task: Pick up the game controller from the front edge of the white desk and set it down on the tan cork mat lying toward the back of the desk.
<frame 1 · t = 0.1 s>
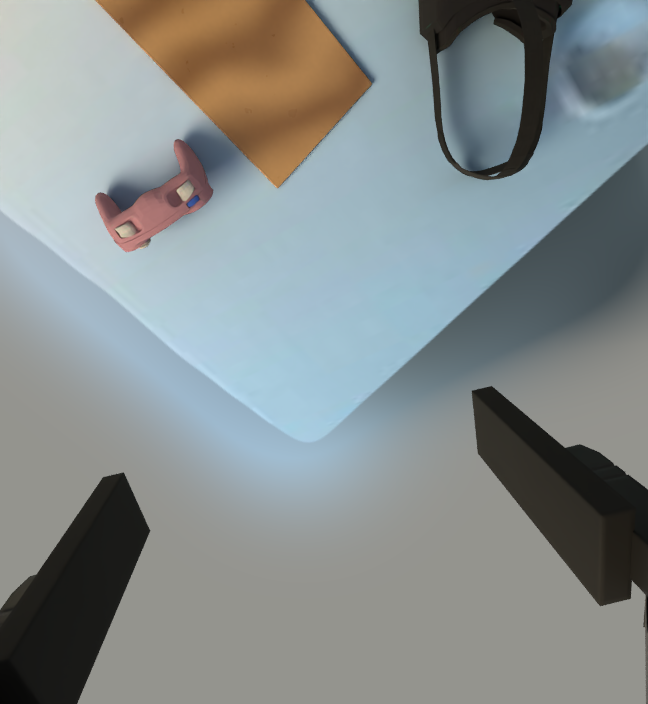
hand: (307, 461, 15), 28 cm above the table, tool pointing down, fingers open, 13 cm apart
video game controller: (162, 198, 38), on the table
cork mat: (238, 42, 34), on the table
virtual reality headset: (476, 77, 37), on the table
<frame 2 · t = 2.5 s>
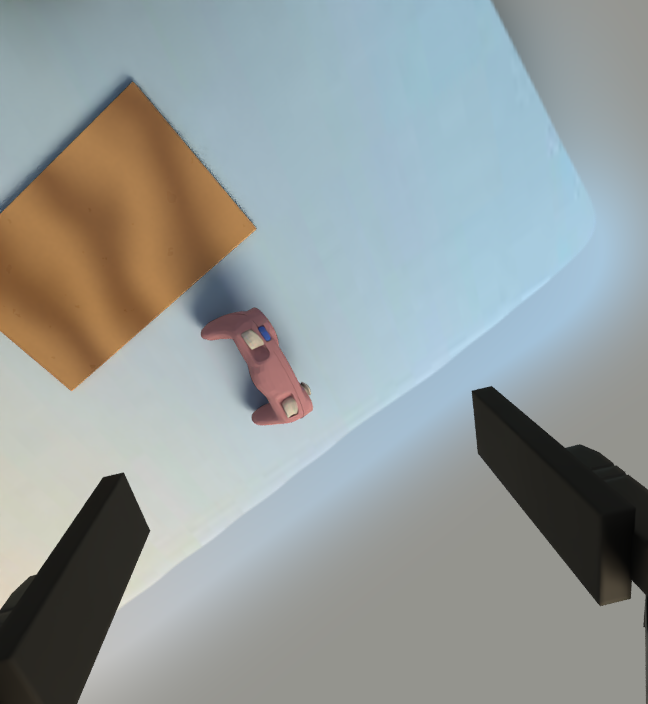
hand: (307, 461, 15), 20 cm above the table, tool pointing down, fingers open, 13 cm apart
video game controller: (260, 358, 35), on the table
cork mat: (101, 252, 31), on the table
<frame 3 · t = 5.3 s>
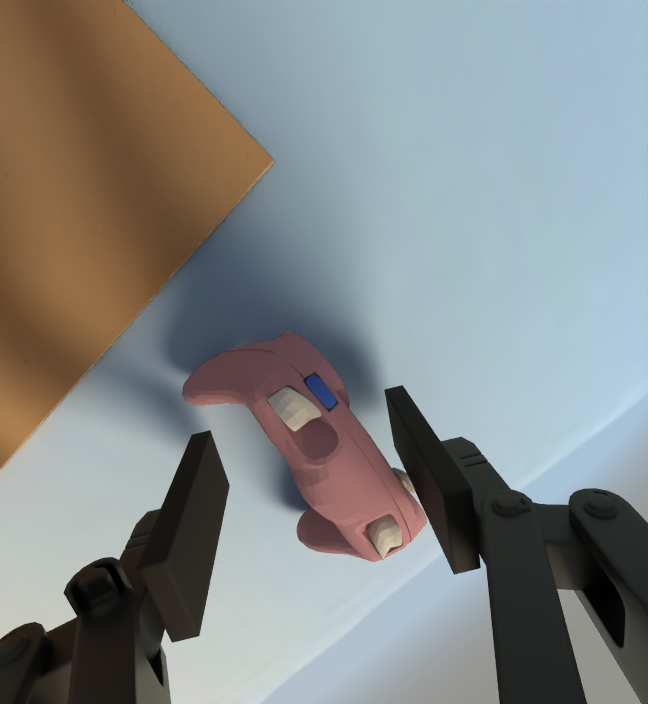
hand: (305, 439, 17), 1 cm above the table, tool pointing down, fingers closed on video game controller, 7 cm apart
video game controller: (303, 421, 18), on the table, touching gripper
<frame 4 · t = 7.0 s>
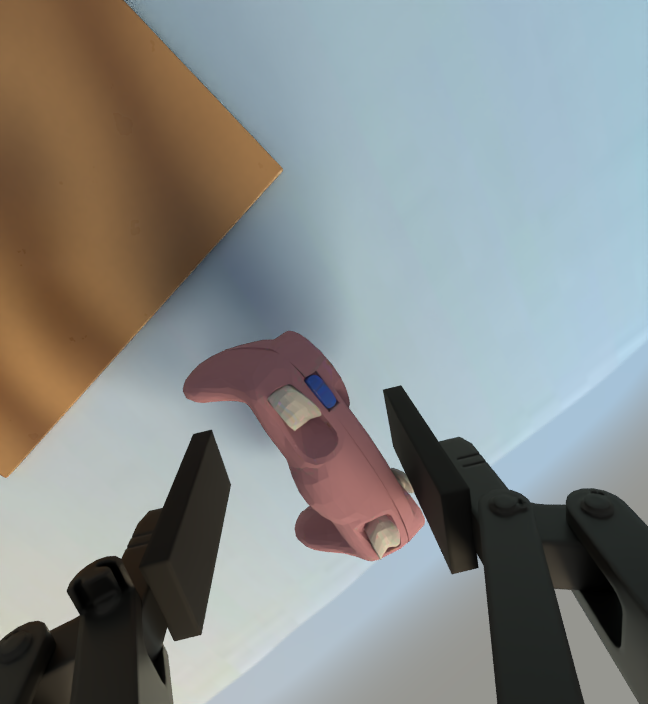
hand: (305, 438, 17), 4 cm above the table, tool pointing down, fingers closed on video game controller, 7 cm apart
video game controller: (303, 419, 18), point 3 cm above the table, touching gripper
cork mat: (17, 241, 17), on the table
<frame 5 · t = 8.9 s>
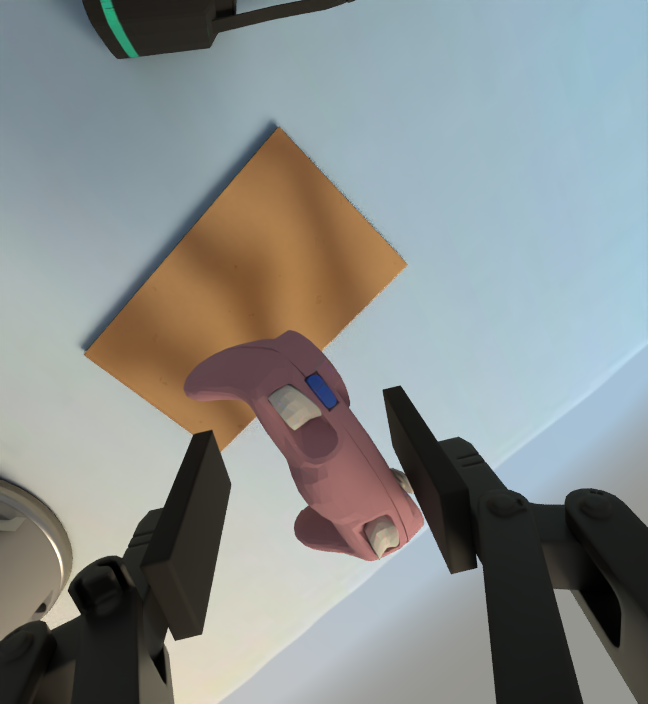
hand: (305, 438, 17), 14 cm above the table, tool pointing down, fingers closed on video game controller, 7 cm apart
video game controller: (303, 419, 18), point 12 cm above the table, touching gripper
cork mat: (245, 308, 29), on the table
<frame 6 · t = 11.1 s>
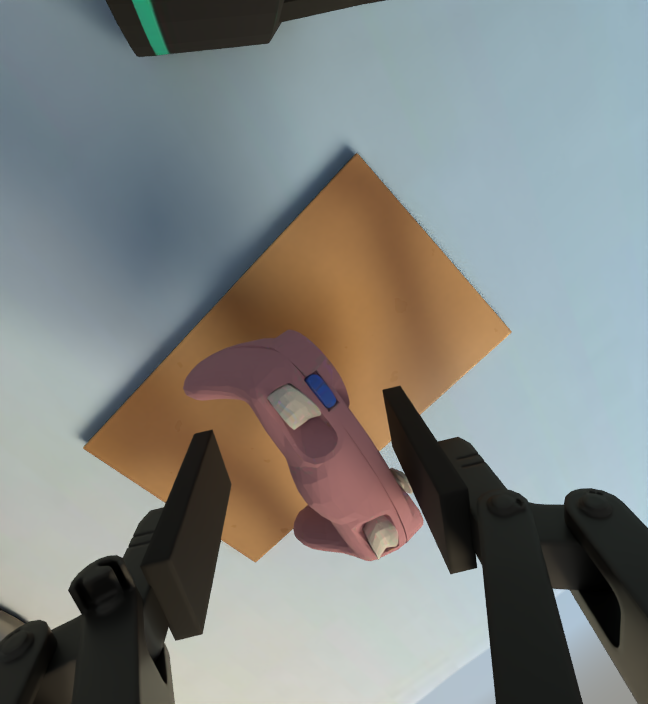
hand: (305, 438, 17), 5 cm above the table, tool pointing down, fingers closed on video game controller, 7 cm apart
video game controller: (303, 418, 18), point 4 cm above the table, touching gripper
cork mat: (297, 386, 22), on the table
when the fingers open (2 cm above the table, at t = 12.5 s): video game controller stays where it is, resting on cork mat.
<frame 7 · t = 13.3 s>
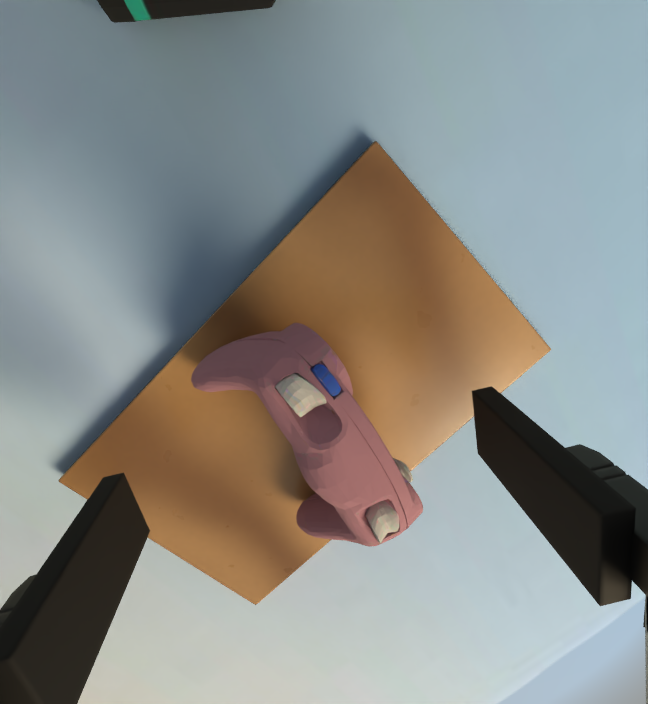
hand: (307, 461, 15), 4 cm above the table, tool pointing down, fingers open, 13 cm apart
video game controller: (305, 411, 19), resting on cork mat
cork mat: (304, 410, 19), on the table
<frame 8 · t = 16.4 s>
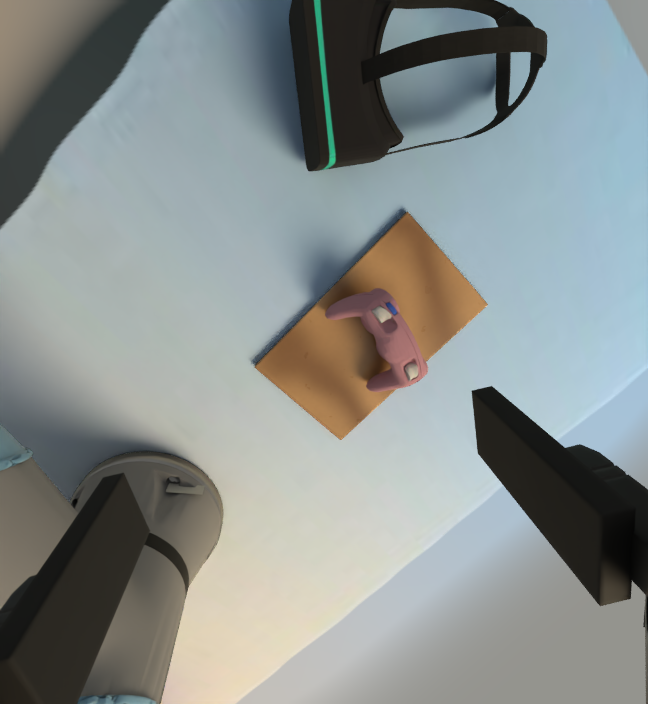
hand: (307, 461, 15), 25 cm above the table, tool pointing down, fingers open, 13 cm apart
video game controller: (371, 334, 40), resting on cork mat
cork mat: (370, 334, 40), on the table
virtual reality headset: (403, 88, 34), on the table
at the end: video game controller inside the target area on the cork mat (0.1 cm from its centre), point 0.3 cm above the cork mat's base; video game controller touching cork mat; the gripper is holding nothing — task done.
